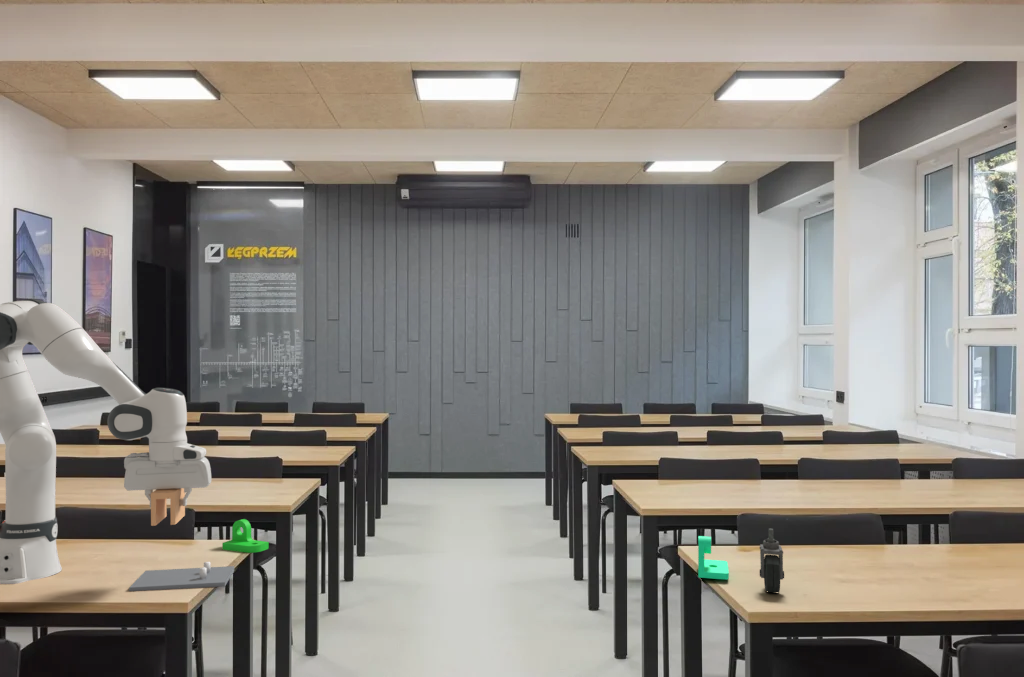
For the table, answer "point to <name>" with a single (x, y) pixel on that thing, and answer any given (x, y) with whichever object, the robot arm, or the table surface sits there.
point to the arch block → (160, 505)
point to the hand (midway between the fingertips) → (168, 506)
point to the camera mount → (710, 562)
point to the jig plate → (183, 578)
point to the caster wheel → (771, 563)
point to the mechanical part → (244, 539)
